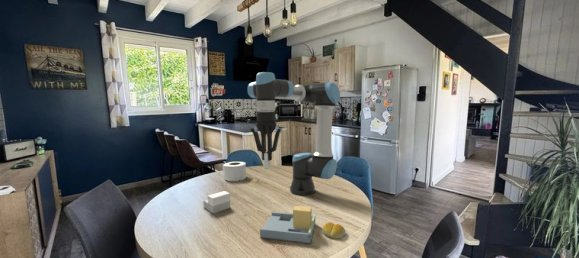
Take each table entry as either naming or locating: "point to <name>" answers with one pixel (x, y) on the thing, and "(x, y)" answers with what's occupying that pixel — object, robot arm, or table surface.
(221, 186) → the table surface
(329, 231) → the bread roll
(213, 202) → the foam block
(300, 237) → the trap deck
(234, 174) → the roll of tape
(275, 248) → the table surface
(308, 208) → the ochre block
